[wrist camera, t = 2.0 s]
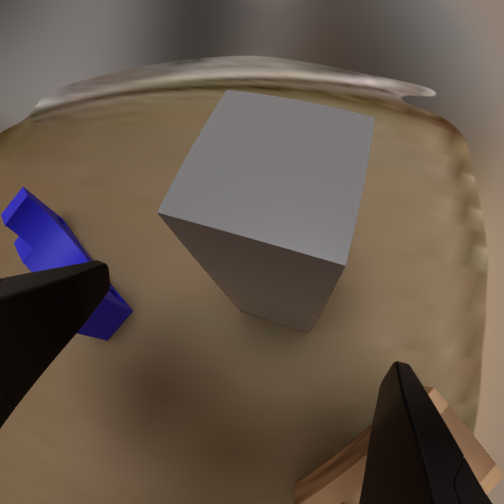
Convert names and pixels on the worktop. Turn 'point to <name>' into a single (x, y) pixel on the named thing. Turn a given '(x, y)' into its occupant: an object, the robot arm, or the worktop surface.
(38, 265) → the cable clip
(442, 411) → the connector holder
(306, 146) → the plain gray rectangular block
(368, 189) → the worktop surface
